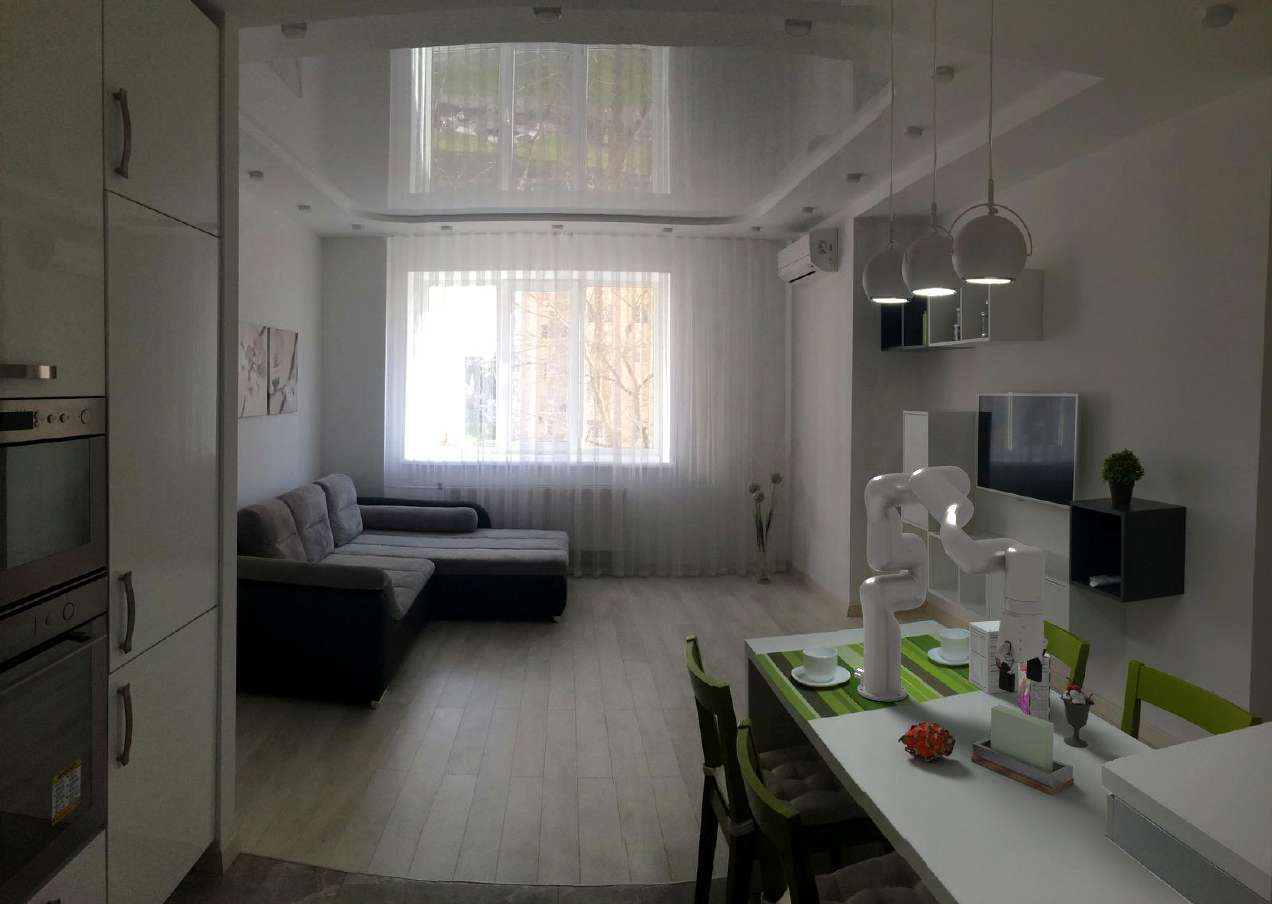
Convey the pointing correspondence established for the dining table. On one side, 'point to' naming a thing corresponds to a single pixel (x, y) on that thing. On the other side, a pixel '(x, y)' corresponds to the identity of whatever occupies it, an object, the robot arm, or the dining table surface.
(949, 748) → the dragon fruit
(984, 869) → the dining table surface
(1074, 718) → the sundae
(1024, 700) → the candy bar box
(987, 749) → the open rectangular box
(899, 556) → the robot arm
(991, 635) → the supplement box
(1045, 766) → the pale green rectangular block
